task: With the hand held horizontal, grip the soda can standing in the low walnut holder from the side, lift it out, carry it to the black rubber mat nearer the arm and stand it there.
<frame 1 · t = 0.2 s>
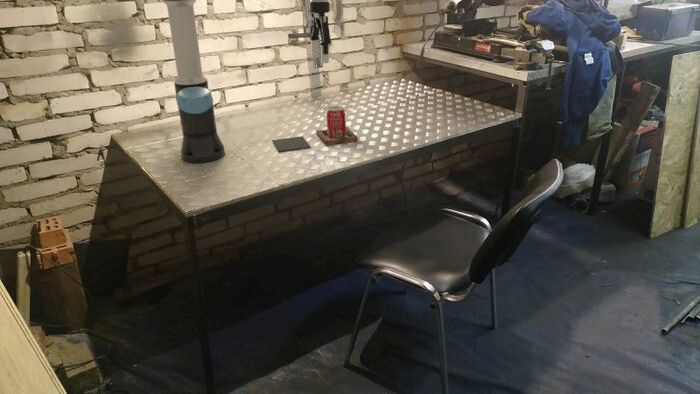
hand: (319, 60, 198), 27 cm above the table, tool pointing down, fingers open, 13 cm apart
soda can: (336, 139, 199), resting in holder
holder: (336, 138, 199), on the table
mat: (291, 144, 194), on the table
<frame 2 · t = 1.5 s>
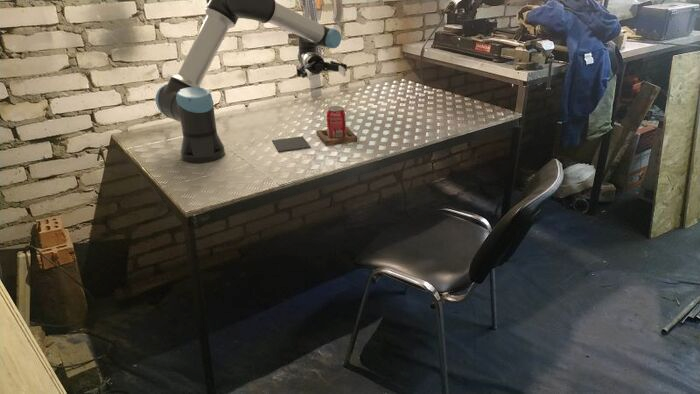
hand: (327, 74, 196), 23 cm above the table, tool horizontal, fingers open, 13 cm apart
nothing on the table moved.
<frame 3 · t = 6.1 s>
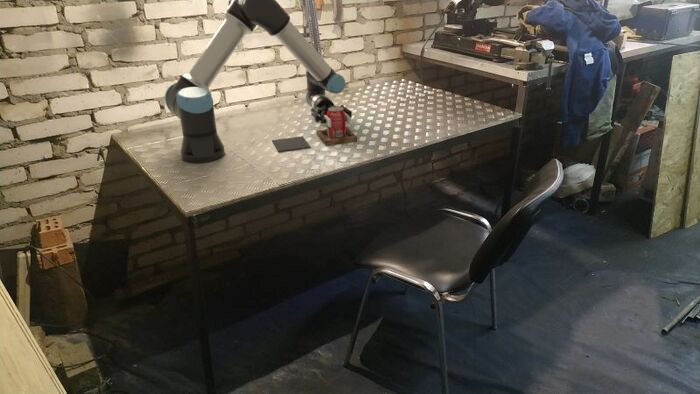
hand: (340, 122, 191), 8 cm above the table, tool horizontal, fingers closed on soda can, 7 cm apart
soda can: (336, 139, 199), resting in holder, touching gripper
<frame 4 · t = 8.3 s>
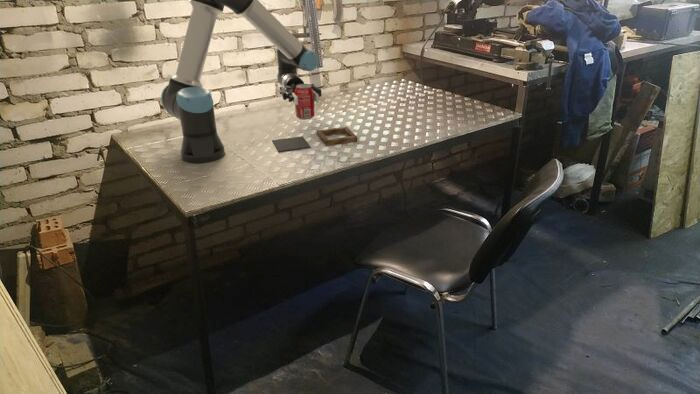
hand: (307, 100, 184), 18 cm above the table, tool horizontal, fingers closed on soda can, 7 cm apart
soda can: (305, 118, 192), point 9 cm above the table, touching gripper
when the fingers open (9 cm above the table, at t = 10.7 s): soda can stays where it is, resting on mat.
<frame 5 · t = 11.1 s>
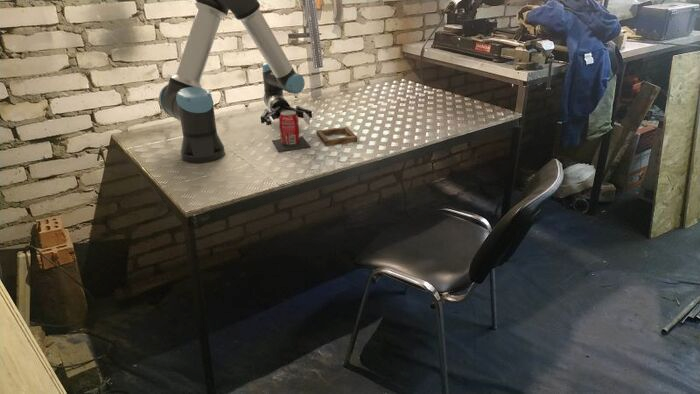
hand: (291, 123, 187), 9 cm above the table, tool horizontal, fingers open, 12 cm apart
soda can: (290, 143, 194), resting on mat
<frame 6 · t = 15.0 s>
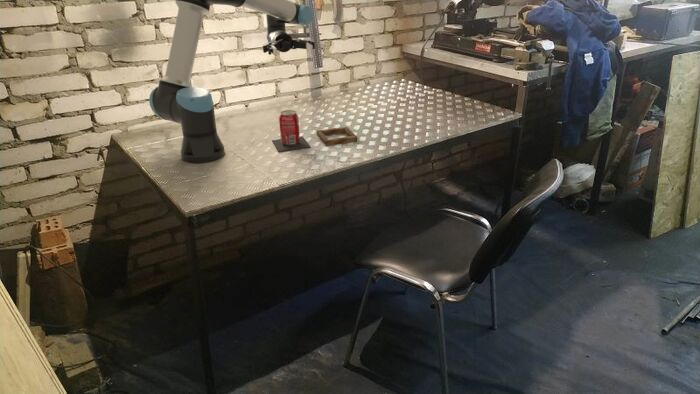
hand: (293, 50, 191), 32 cm above the table, tool horizontal, fingers open, 13 cm apart
nothing on the table moved.
at the end: soda can inside the target area on the mat (0.1 cm from its centre), point 0.3 cm above the mat's base; soda can tilted 0°; the gripper is holding nothing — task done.
